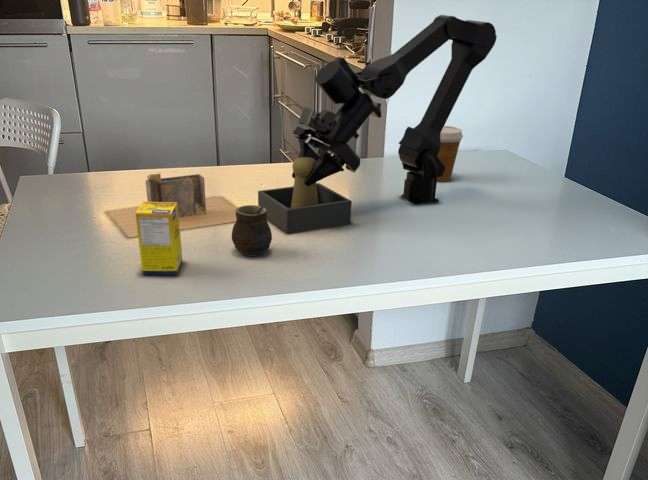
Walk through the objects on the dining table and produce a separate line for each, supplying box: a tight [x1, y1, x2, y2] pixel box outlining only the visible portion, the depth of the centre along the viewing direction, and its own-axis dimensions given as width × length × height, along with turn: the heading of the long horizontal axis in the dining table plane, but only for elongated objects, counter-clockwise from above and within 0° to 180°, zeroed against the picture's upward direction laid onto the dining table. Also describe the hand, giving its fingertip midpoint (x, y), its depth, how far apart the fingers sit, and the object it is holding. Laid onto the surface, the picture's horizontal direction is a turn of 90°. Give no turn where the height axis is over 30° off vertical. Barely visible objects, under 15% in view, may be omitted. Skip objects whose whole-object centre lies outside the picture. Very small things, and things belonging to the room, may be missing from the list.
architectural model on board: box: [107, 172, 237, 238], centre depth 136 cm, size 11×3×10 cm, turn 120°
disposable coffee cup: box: [437, 125, 464, 182], centre depth 166 cm, size 10×10×12 cm
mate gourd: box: [231, 204, 273, 257], centre depth 120 cm, size 7×8×10 cm
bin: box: [257, 182, 353, 235], centre depth 139 cm, size 15×14×5 cm
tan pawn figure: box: [291, 157, 319, 208], centre depth 136 cm, size 6×6×11 cm
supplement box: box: [136, 201, 183, 276], centre depth 112 cm, size 6×6×11 cm
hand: (299, 181), depth 135 cm, fingers closed on tan pawn figure, 5 cm apart
